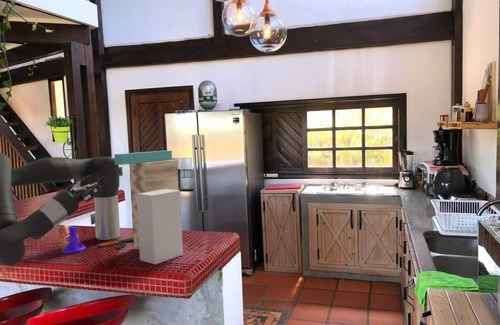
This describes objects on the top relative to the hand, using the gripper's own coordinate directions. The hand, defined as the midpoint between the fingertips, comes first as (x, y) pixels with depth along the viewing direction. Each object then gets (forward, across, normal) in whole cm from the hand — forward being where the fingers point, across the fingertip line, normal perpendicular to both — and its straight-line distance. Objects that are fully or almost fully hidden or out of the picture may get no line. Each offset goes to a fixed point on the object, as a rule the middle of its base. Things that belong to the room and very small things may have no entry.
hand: (99, 177), depth 130 cm
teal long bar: (+18, 0, +6) cm, 19 cm away
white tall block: (-2, -12, +32) cm, 34 cm away
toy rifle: (-1, +13, +33) cm, 36 cm away
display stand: (+5, 0, +36) cm, 36 cm away
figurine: (-13, +22, +26) cm, 36 cm away
